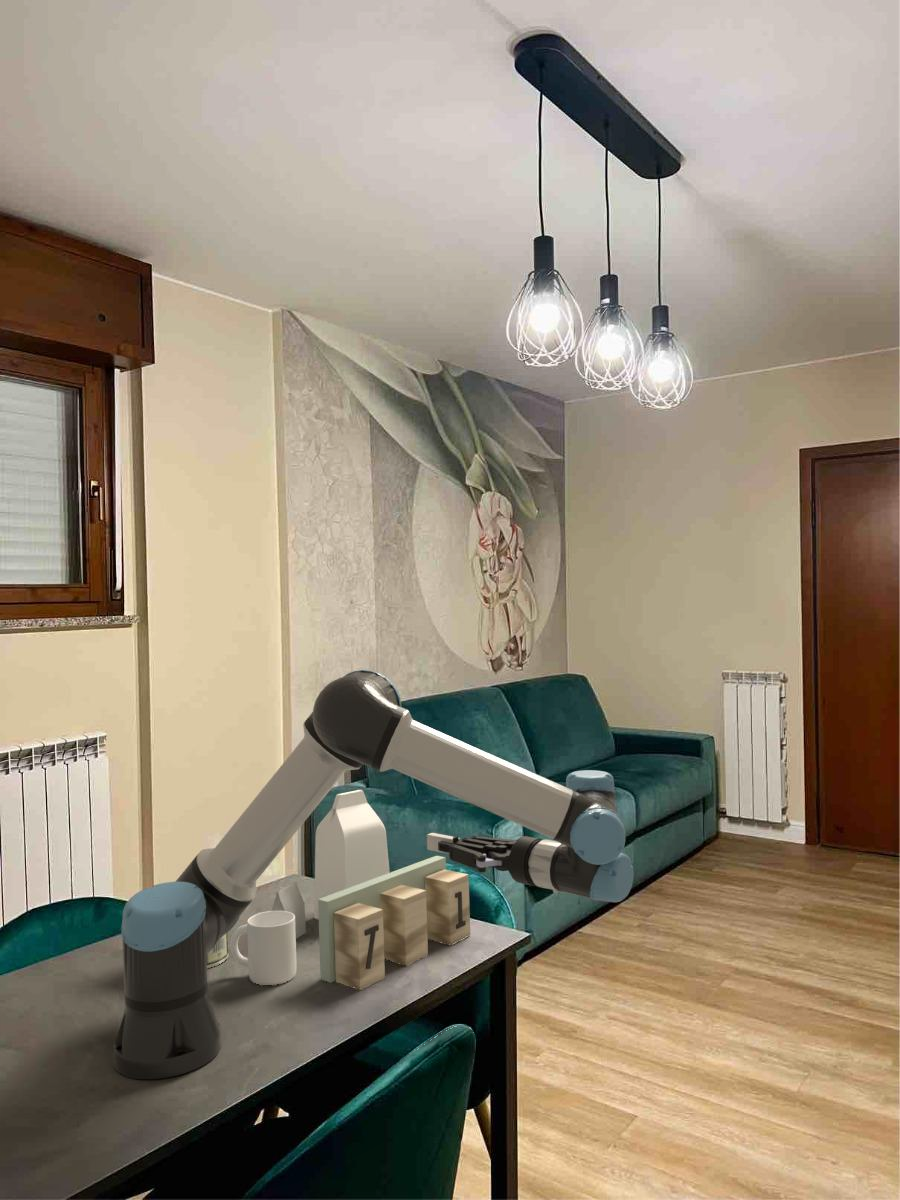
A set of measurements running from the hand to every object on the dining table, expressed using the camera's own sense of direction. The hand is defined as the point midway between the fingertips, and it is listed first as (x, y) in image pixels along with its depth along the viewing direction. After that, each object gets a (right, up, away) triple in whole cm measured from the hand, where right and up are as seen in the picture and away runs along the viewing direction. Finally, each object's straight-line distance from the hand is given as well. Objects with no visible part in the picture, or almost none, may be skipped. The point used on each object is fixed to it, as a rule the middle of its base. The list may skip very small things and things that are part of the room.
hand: (429, 841), depth 162 cm
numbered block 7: (-12, -23, -5) cm, 26 cm away
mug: (-29, -23, -2) cm, 38 cm away
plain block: (-5, -23, +5) cm, 23 cm away
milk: (-16, -23, +27) cm, 39 cm away
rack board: (-8, -23, +7) cm, 25 cm away
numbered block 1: (+3, -22, +14) cm, 26 cm away
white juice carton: (-28, -23, +16) cm, 40 cm away
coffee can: (-43, -24, +6) cm, 49 cm away
